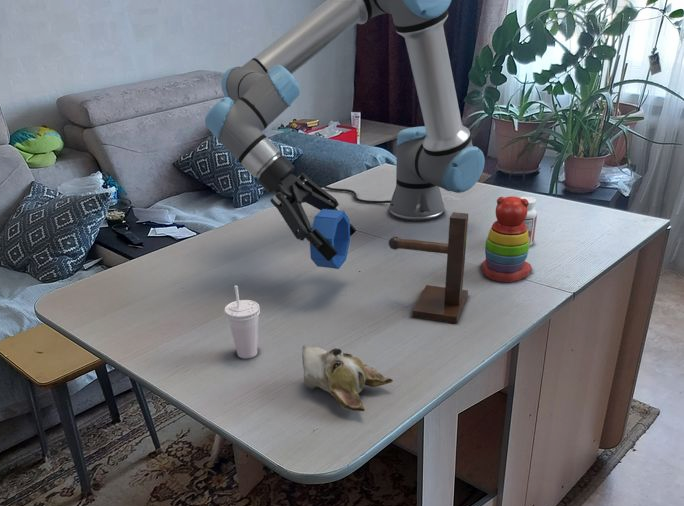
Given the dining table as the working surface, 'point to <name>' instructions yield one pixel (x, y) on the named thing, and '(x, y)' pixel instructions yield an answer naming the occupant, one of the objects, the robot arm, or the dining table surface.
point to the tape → (332, 237)
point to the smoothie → (243, 325)
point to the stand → (451, 297)
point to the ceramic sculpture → (339, 375)
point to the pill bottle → (530, 218)
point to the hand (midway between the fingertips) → (343, 245)
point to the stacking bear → (508, 242)
